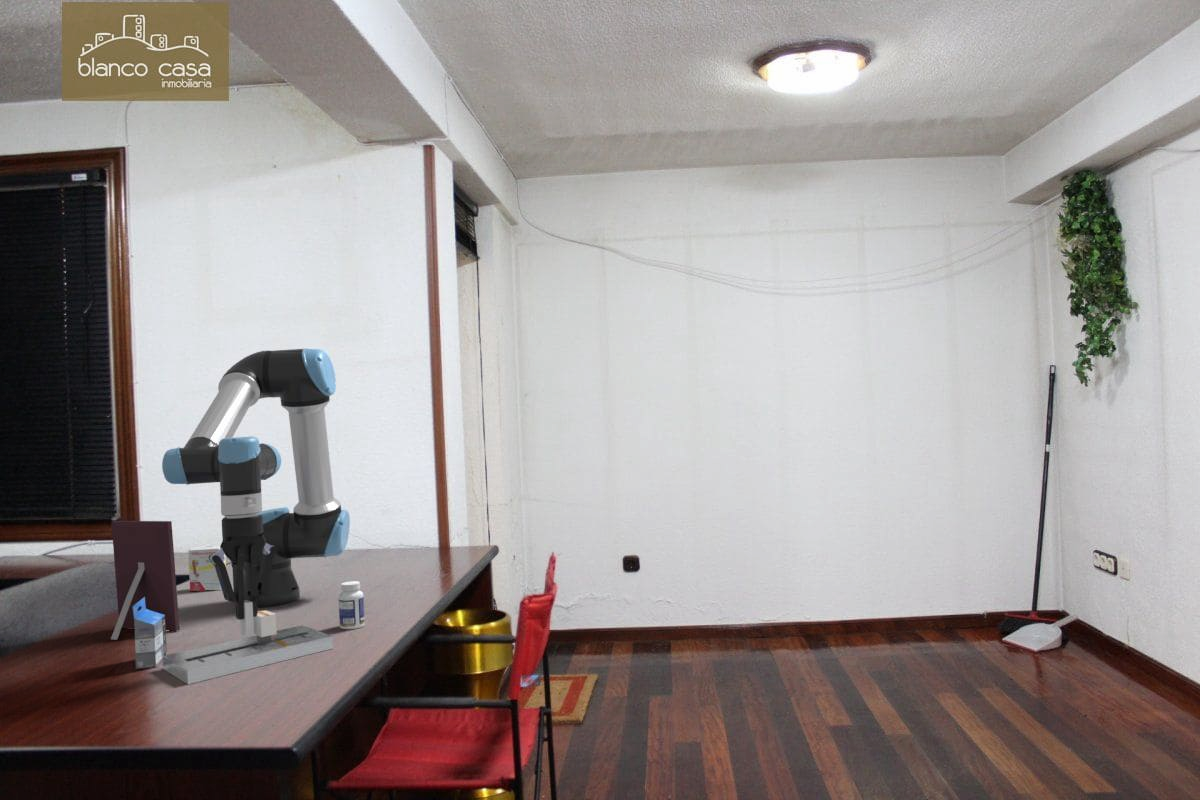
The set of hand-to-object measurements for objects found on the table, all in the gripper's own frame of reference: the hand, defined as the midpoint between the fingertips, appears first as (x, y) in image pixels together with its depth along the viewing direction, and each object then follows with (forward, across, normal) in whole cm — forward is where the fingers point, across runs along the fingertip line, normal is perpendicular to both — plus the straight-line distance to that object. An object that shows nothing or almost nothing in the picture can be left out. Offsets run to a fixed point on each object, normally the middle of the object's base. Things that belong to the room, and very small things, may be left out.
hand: (247, 634), depth 171 cm
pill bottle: (+5, +25, +6) cm, 26 cm away
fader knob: (+5, +3, 0) cm, 6 cm away
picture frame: (+5, -10, +41) cm, 42 cm away
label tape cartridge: (+5, -14, +14) cm, 20 cm away
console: (+5, 0, 0) cm, 5 cm away
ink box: (+5, +19, +78) cm, 80 cm away
